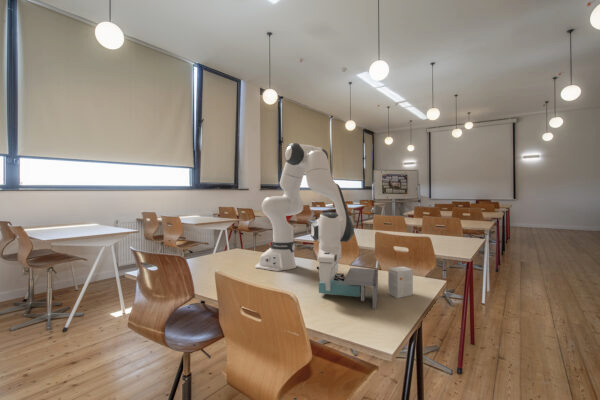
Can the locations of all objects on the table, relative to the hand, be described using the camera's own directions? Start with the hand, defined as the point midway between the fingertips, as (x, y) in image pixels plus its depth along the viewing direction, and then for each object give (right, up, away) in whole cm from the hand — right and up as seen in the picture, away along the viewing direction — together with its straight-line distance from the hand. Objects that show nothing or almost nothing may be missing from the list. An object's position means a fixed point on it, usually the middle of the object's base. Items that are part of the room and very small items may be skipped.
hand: (329, 287), depth 118 cm
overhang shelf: (+12, -3, -3) cm, 13 cm away
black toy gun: (+3, -3, +29) cm, 29 cm away
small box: (+28, -3, +1) cm, 29 cm away
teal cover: (+4, -2, -1) cm, 4 cm away
